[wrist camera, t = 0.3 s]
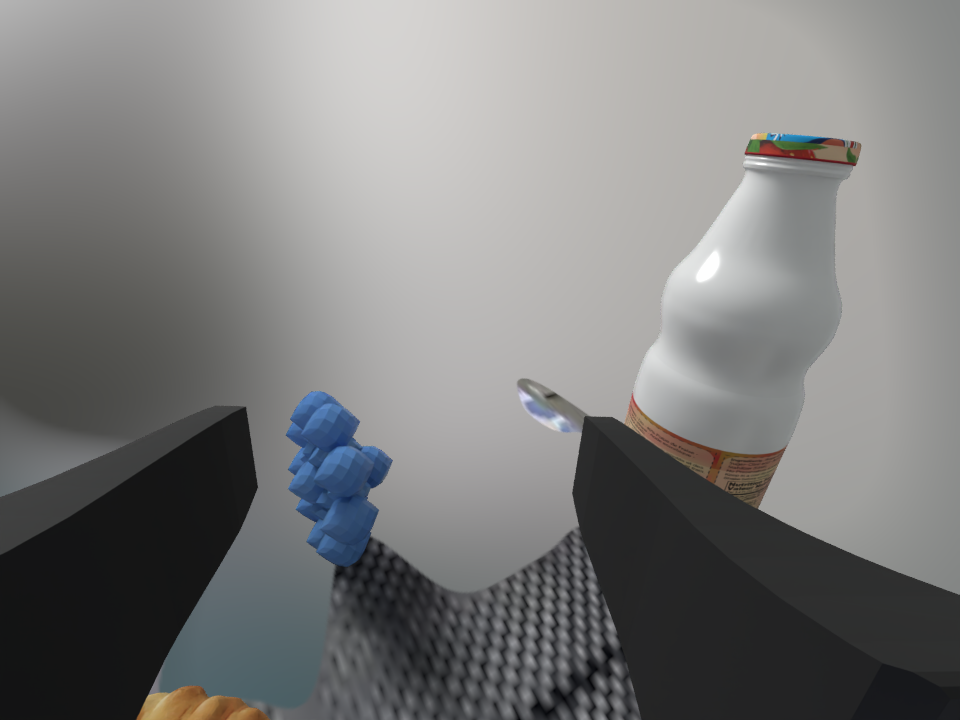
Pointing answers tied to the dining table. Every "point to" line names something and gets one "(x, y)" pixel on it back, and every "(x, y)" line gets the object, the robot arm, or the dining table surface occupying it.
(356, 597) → the dining table surface
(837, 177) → the fruit juice
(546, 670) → the dining table surface
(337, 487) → the grapes
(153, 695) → the pastry
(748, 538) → the robot arm
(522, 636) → the dining table surface
